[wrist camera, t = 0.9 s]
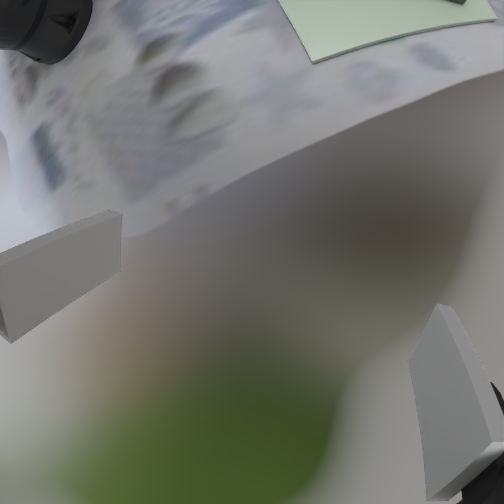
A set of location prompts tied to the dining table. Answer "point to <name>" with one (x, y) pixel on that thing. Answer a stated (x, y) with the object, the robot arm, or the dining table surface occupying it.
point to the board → (373, 21)
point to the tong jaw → (458, 1)
